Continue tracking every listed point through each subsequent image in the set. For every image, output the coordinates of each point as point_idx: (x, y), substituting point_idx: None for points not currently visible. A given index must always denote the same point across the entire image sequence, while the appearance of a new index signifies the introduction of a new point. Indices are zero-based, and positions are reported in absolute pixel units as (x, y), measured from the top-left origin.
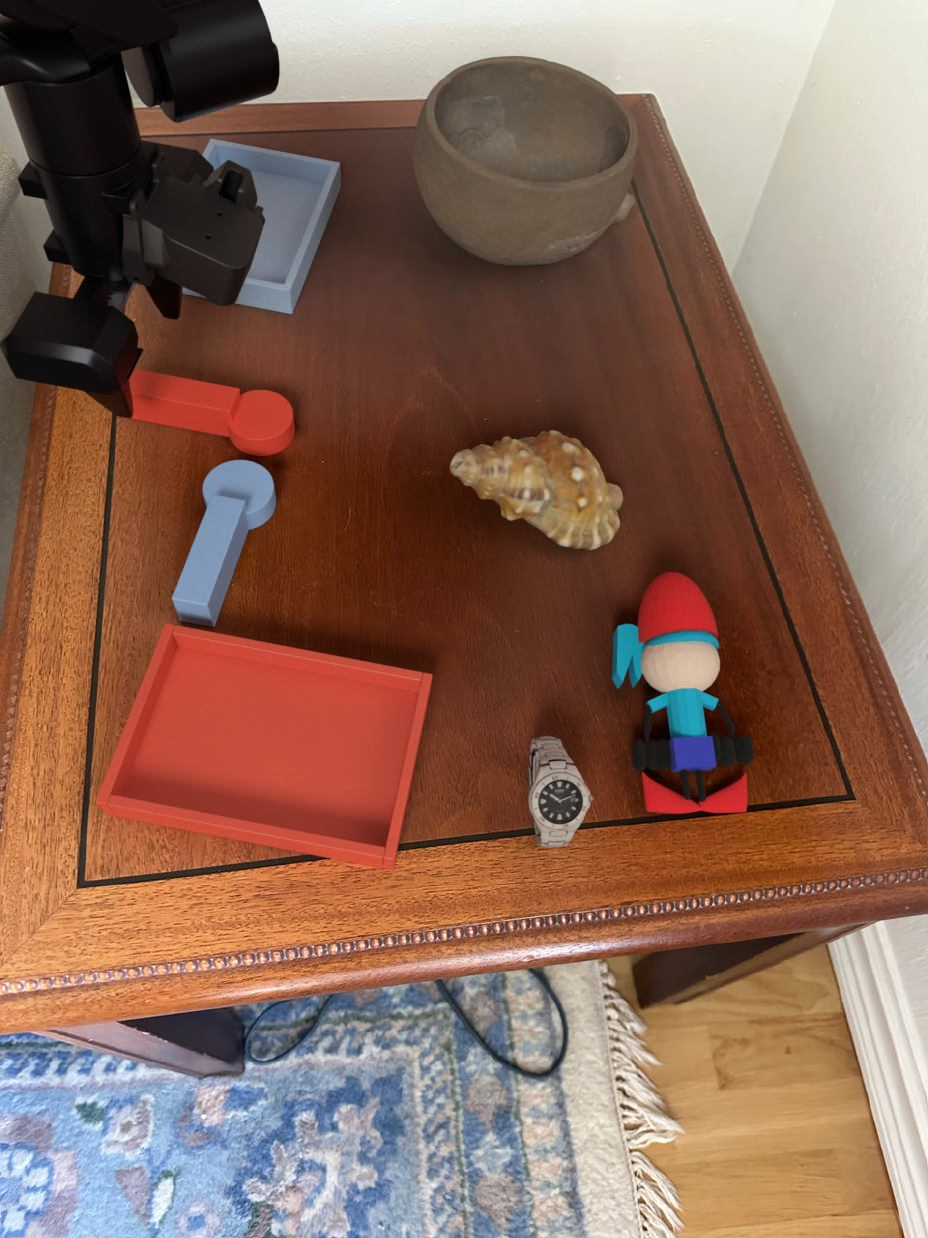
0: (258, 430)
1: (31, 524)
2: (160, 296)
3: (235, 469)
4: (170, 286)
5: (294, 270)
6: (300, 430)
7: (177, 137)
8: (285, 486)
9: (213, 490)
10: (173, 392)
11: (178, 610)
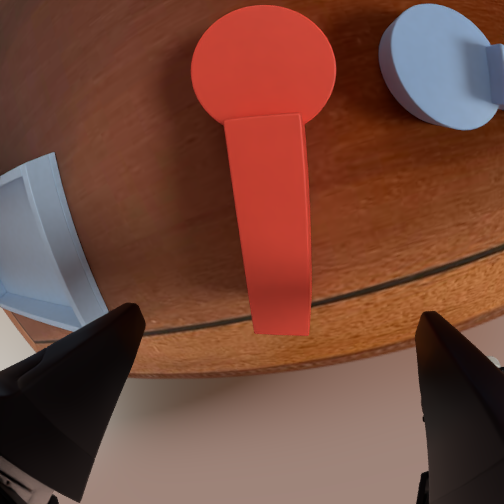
0: (306, 52)
1: (474, 324)
2: (119, 358)
3: (421, 74)
4: (90, 360)
5: (8, 175)
6: None
7: (18, 320)
8: (374, 6)
9: (472, 108)
10: (286, 249)
11: None
